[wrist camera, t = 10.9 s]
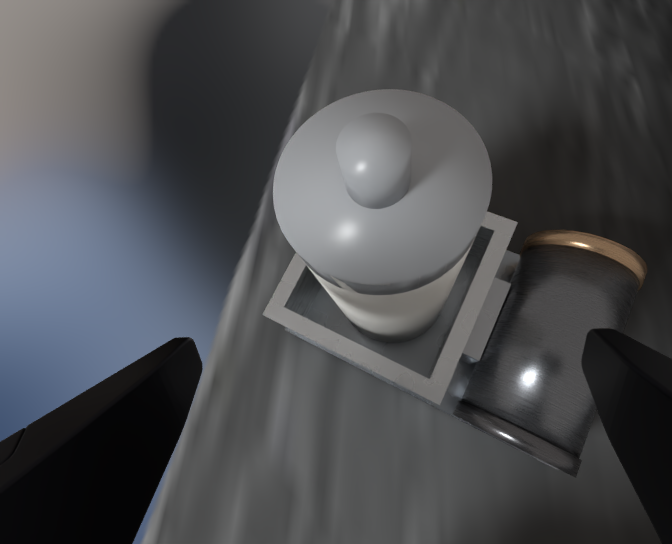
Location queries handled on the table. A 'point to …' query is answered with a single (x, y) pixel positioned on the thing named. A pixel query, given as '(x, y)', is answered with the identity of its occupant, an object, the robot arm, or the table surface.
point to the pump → (384, 205)
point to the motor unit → (494, 335)
